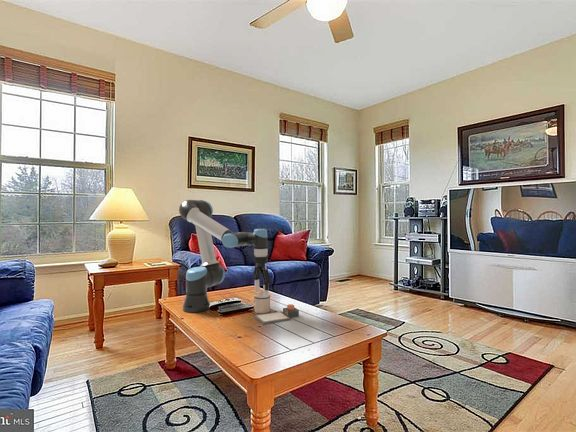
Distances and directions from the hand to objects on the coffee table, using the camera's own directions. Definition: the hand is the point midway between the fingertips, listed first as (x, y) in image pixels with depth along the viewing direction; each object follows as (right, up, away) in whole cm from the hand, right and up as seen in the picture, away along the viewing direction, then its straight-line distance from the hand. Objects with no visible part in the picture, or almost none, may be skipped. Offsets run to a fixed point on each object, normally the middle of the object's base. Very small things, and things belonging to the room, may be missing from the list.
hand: (261, 293), depth 183 cm
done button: (+17, -8, -8) cm, 20 cm away
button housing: (+17, -10, -8) cm, 21 cm away
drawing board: (+7, -10, -13) cm, 18 cm away
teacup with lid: (0, -10, 0) cm, 10 cm away
